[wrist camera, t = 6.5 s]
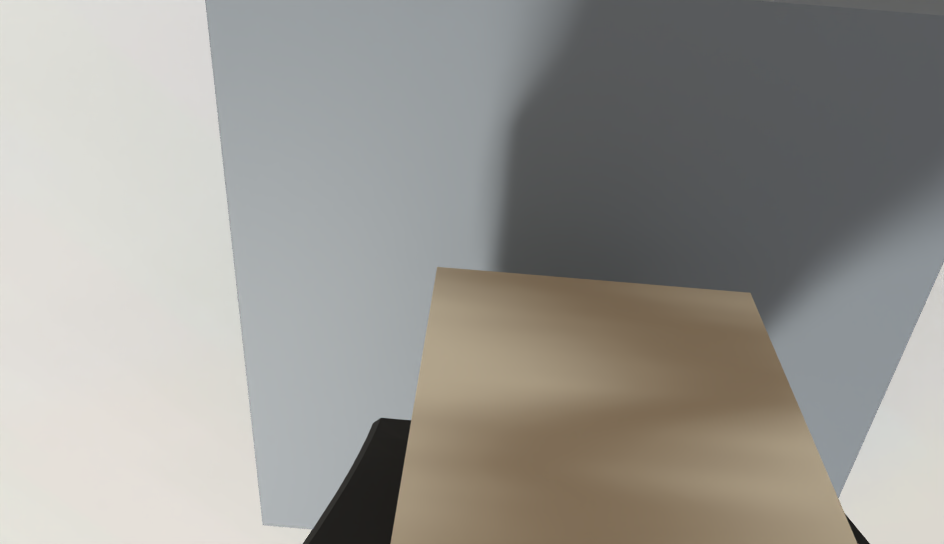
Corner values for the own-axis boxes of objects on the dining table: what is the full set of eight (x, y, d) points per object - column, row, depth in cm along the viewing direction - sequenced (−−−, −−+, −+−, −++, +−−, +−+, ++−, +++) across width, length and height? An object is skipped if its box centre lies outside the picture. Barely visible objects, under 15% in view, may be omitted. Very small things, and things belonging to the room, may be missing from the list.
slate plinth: (967, -18, 13) (1049, 23, 11) (775, 486, 20) (804, 572, 18) (250, -75, 14) (200, -45, 11) (290, 444, 20) (262, 524, 18)
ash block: (750, 292, 12) (880, 598, 7) (685, 507, 14) (755, 831, 10) (437, 267, 12) (388, 556, 7) (426, 486, 14) (385, 798, 10)
